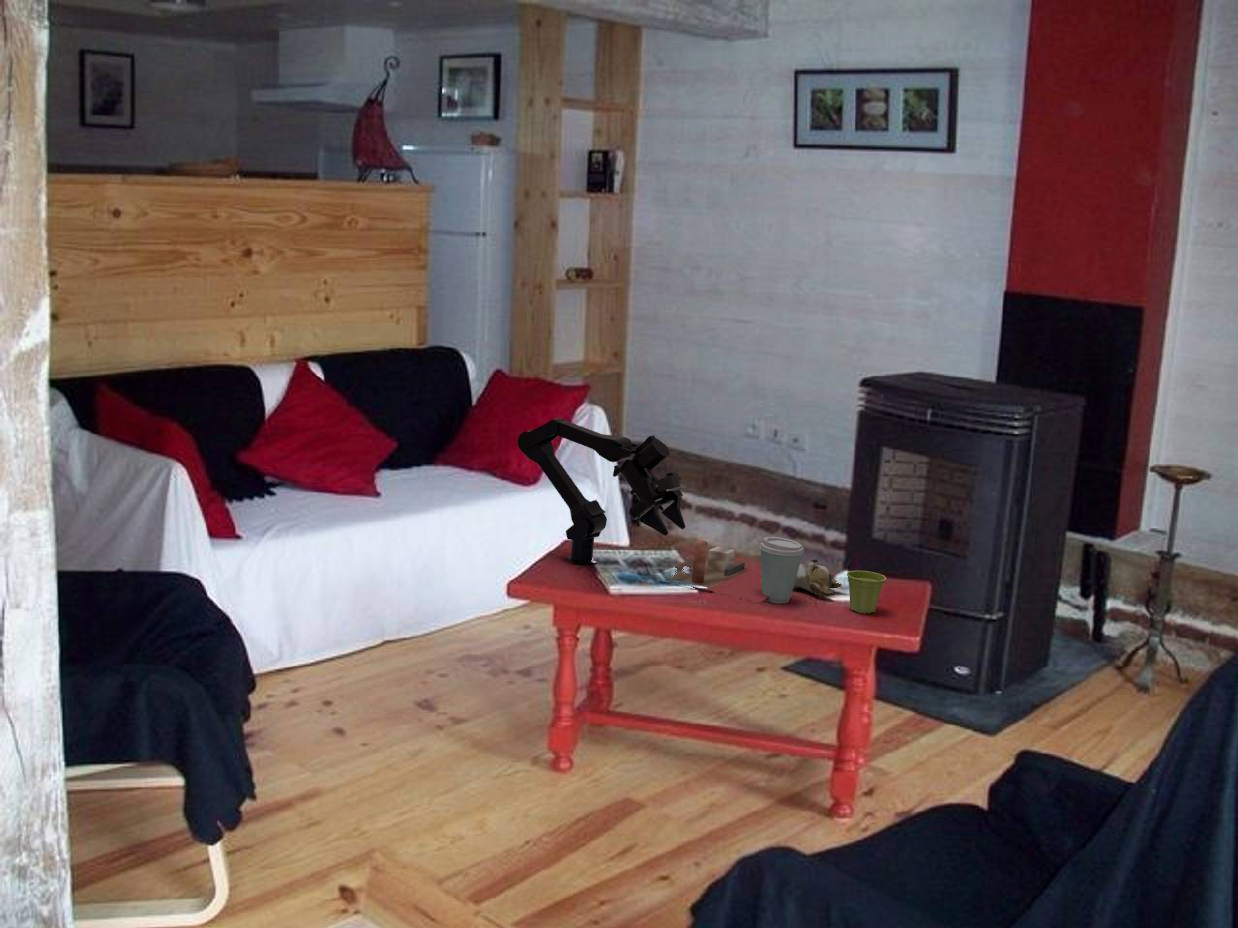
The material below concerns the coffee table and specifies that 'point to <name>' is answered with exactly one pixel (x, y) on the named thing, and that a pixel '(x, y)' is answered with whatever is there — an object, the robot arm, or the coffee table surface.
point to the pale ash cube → (720, 559)
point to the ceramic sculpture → (815, 579)
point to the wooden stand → (705, 570)
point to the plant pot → (864, 590)
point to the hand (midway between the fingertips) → (675, 531)
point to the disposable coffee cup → (779, 567)
